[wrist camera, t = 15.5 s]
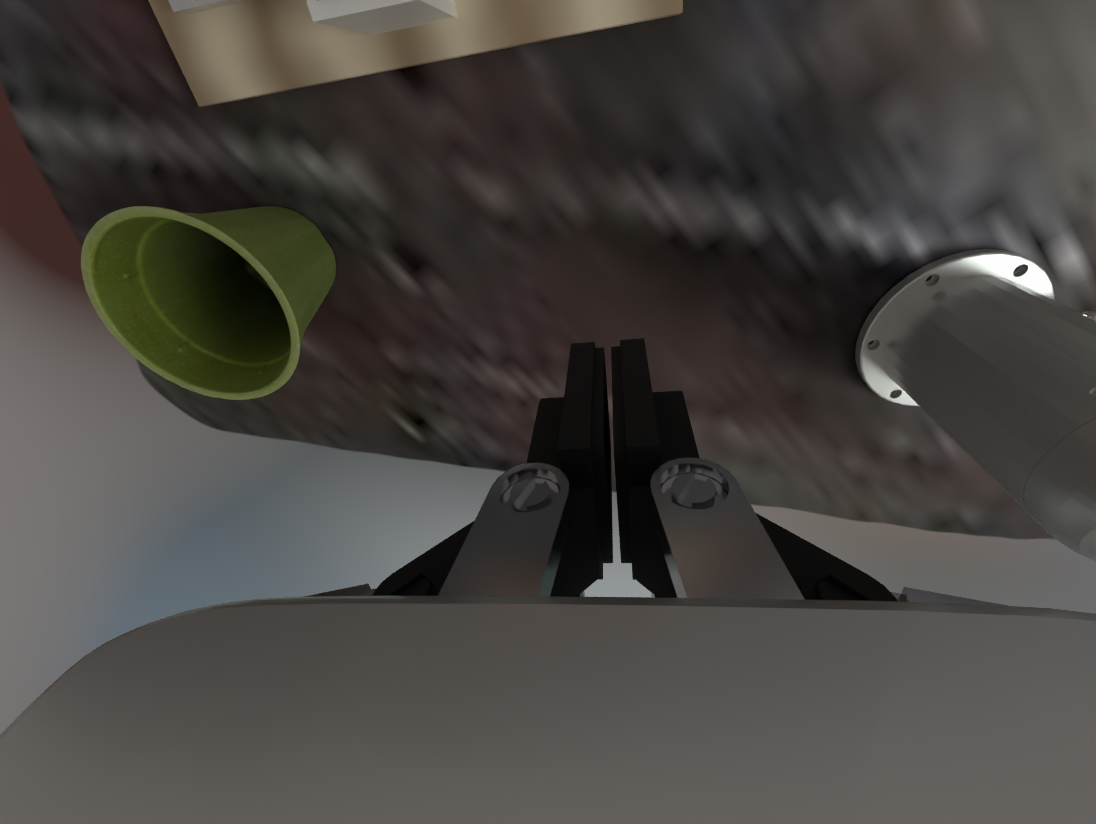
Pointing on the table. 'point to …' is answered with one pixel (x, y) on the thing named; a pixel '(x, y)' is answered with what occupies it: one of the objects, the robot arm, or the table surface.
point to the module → (380, 13)
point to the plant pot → (209, 292)
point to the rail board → (363, 40)
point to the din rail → (199, 5)
